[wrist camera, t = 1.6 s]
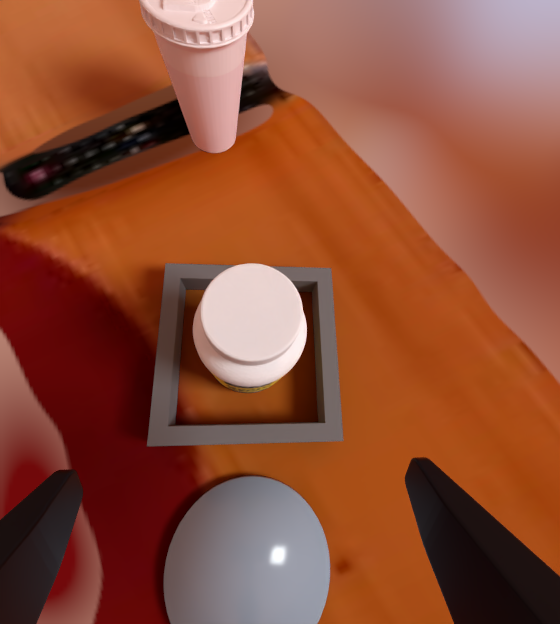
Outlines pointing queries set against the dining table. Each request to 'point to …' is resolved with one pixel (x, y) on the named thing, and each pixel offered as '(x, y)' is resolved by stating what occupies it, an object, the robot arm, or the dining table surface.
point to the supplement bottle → (250, 327)
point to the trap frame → (211, 434)
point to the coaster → (247, 557)
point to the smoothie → (204, 62)
